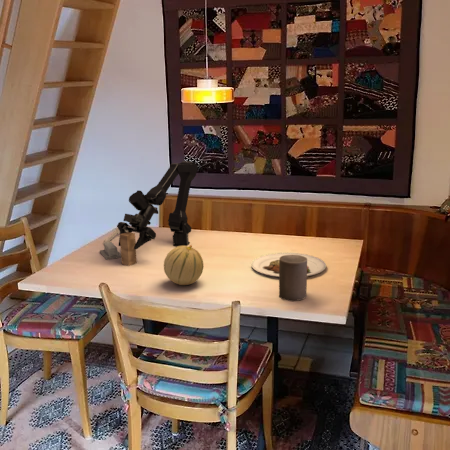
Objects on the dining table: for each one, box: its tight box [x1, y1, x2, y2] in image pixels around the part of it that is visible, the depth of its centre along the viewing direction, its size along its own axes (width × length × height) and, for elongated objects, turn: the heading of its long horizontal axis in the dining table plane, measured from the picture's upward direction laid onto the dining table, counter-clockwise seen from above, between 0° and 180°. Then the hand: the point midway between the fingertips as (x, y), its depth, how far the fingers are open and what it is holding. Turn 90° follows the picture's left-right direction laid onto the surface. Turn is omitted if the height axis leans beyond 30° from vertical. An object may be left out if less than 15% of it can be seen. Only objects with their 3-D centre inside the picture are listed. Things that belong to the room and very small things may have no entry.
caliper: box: [102, 227, 120, 245], centre depth 266 cm, size 21×1×6 cm, turn 164°
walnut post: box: [119, 232, 138, 267], centre depth 227 cm, size 4×4×13 cm
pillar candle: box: [278, 255, 308, 302], centre depth 188 cm, size 10×10×15 cm
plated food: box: [250, 252, 327, 278], centre depth 219 cm, size 30×30×3 cm
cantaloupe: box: [163, 244, 204, 286], centre depth 202 cm, size 15×15×15 cm
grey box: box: [99, 241, 121, 261], centre depth 240 cm, size 12×7×4 cm, turn 25°
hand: (126, 247), depth 226 cm, fingers open, 9 cm apart
